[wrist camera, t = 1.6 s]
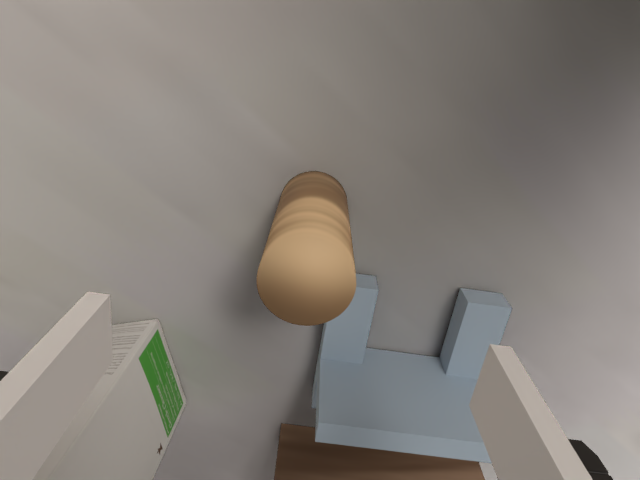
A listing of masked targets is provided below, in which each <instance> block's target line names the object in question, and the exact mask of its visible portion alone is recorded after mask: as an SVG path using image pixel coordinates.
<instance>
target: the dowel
mask: <svg viewBox="0 0 640 480" xmlns="http://www.w3.org/2000/svg"><path fill="white" fill-rule="evenodd" d="M257 289H258V293H259V295H260V298H261V300H262V301H263V303H264V305H265V306H266V307H267V308H268V309H269V310H270V311H271V312H272V313H273V314H274V315H276V316H277V317H279V318H280V319H282V320H284V321H286V322H289V323H292V324H297V325H304V326H310V325H319V324H323V323H326V322H328V321H331V320H333V319H334V318H336V317H338V316H339V315H340V314H341V313H343V312H344V311H345V310H346V308H347V307H348V306H349V305H350V303H351V301H352V299H353V297H354V294H355V291H356V272H355V264H354V255H353V247H352V238H351V230H350V221H349V213H348V204H347V197H346V193H345V191H344V189H343V187H342V186H341V184H340V183H339V182H338V181H337V180H336V179H335V178H333V177H332V176H330V175H328V174H326V173H323V172H318V171H309V172H304V173H301V174H299V175H297V176H295V177H294V178H292V179H291V180H290V181H289V182H288V183H287V184H286V186H285V187H284V189H283V191H282V194H281V198H280V201H279V204H278V207H277V210H276V214H275V217H274V220H273V223H272V227H271V230H270V233H269V236H268V239H267V243H266V246H265V249H264V252H263V255H262V259H261V262H260V265H259V268H258V272H257Z"/></svg>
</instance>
